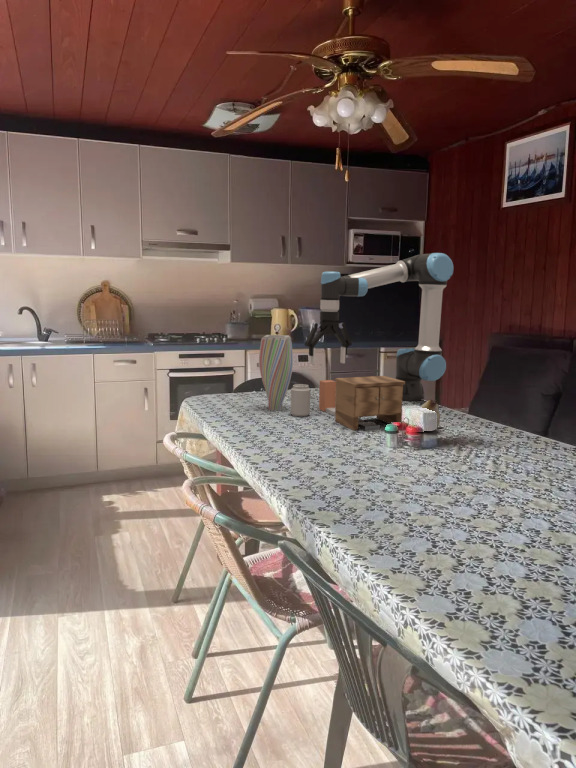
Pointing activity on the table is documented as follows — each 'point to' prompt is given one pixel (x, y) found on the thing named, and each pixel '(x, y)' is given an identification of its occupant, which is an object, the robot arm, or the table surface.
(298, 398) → the grey jar
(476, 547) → the table surface
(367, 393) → the cabinet
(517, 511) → the table surface
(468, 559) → the table surface
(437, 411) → the fruit
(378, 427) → the token
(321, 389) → the orange upright piece
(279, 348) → the vase
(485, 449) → the table surface
